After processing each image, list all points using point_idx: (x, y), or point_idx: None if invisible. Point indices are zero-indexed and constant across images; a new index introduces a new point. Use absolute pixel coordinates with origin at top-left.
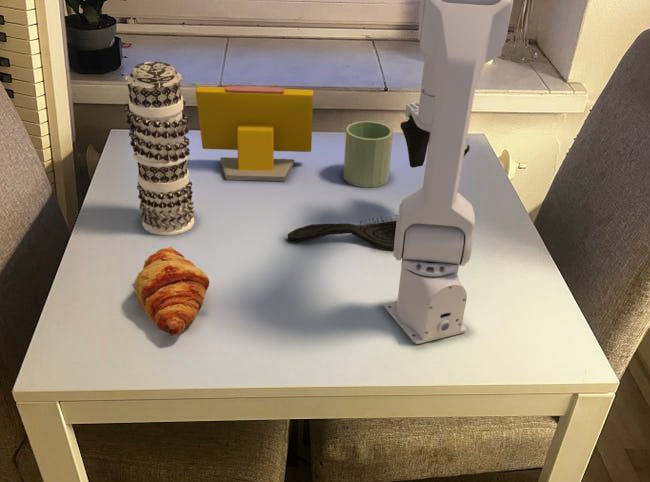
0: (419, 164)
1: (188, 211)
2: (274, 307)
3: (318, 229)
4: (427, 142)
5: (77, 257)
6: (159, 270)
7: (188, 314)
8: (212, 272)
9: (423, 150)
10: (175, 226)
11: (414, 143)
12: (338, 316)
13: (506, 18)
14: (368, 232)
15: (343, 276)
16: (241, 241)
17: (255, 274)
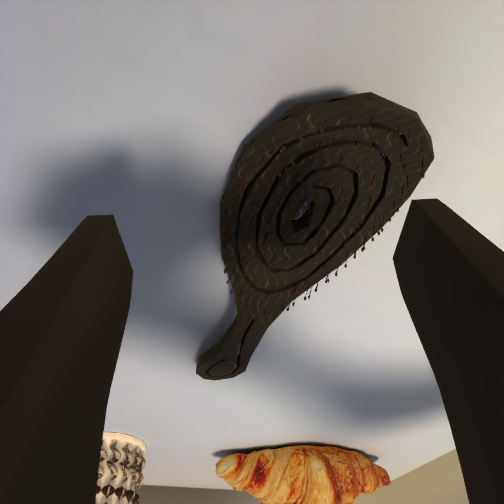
0: (117, 244)
1: (129, 470)
2: (383, 406)
3: (232, 364)
4: (47, 350)
5: (176, 484)
6: None
7: (375, 477)
8: (262, 431)
9: (78, 307)
10: (143, 458)
11: (91, 425)
12: None
13: None
14: (269, 282)
15: (375, 337)
16: (189, 406)
17: (293, 407)
